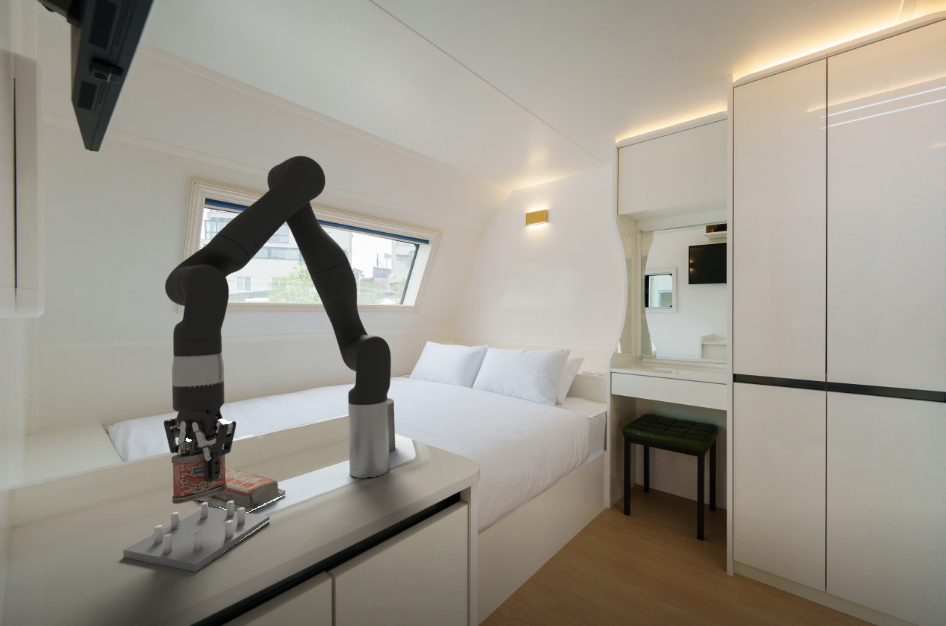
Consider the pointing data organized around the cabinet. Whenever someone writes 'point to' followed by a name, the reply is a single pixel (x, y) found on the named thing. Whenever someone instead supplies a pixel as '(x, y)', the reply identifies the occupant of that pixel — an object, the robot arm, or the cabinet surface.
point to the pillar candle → (391, 423)
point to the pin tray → (195, 537)
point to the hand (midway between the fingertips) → (200, 478)
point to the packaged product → (245, 491)
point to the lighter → (194, 474)
